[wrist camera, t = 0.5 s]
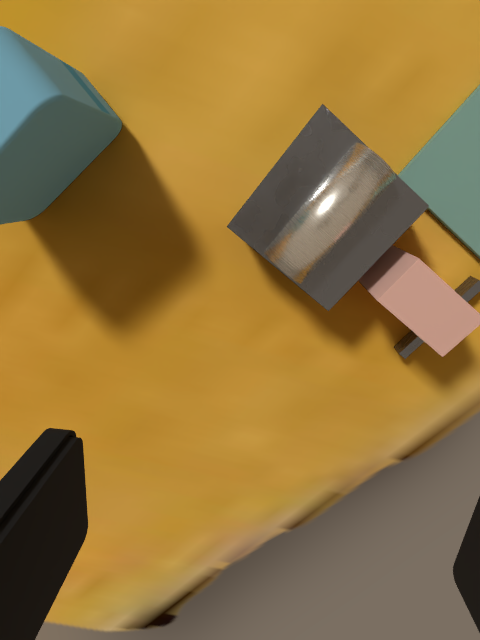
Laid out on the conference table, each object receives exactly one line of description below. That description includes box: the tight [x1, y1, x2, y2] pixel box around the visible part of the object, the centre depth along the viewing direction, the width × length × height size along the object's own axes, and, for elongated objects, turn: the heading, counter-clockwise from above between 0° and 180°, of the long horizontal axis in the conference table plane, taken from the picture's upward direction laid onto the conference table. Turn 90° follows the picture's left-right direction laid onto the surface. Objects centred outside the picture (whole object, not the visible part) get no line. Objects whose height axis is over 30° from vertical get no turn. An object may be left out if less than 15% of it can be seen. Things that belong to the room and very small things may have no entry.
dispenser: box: [227, 104, 480, 359], centre depth 30 cm, size 10×20×8 cm, turn 51°
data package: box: [0, 26, 122, 224], centre depth 27 cm, size 12×4×12 cm, turn 129°
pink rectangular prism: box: [358, 245, 480, 357], centre depth 31 cm, size 4×7×7 cm, turn 51°
